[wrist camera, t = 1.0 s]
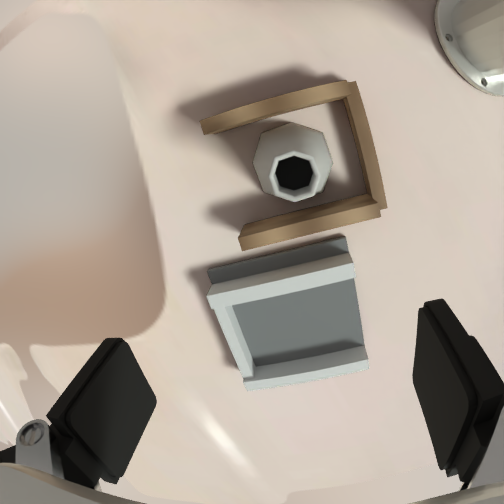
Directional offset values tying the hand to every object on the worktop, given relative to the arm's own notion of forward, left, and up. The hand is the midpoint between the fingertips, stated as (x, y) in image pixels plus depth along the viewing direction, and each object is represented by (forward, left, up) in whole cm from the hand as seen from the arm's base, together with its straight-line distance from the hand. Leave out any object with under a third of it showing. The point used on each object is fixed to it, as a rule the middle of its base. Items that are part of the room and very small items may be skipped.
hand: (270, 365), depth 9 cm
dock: (+2, +12, -22) cm, 25 cm away
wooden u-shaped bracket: (-2, -4, -22) cm, 22 cm away
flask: (-2, -4, -22) cm, 22 cm away
